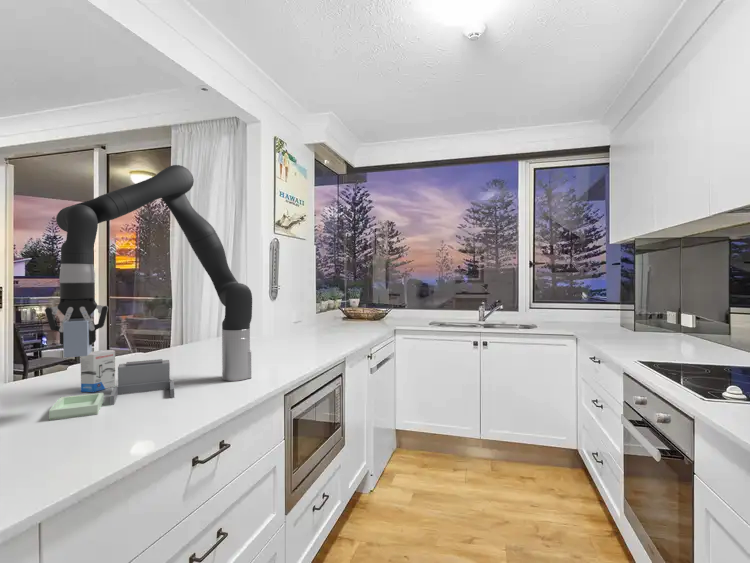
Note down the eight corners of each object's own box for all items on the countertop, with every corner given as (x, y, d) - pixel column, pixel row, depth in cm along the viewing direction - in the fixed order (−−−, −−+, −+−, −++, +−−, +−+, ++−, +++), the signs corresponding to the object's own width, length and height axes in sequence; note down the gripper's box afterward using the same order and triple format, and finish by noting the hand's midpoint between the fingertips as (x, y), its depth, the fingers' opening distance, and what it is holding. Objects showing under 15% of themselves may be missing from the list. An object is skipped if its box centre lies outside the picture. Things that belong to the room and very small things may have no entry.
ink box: (93, 392, 127) (93, 354, 127) (79, 392, 128) (79, 354, 128) (116, 385, 135) (116, 349, 135) (103, 385, 136) (103, 349, 136)
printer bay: (172, 383, 138) (172, 357, 137) (174, 397, 122) (174, 368, 122) (116, 389, 130) (115, 362, 130) (109, 405, 114) (109, 374, 114)
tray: (103, 401, 118) (103, 392, 118) (97, 414, 107) (97, 405, 107) (60, 406, 114) (60, 397, 114) (49, 420, 102) (49, 410, 102)
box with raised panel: (91, 351, 115) (91, 316, 115) (87, 355, 108) (87, 319, 108) (69, 352, 112) (69, 317, 112) (63, 357, 105) (63, 319, 105)
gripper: (111, 281, 116) (111, 341, 117) (47, 281, 110) (47, 345, 110) (108, 281, 110) (108, 345, 110) (39, 281, 103) (40, 349, 103)
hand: (78, 345), depth 110 cm, fingers closed on box with raised panel, 5 cm apart
